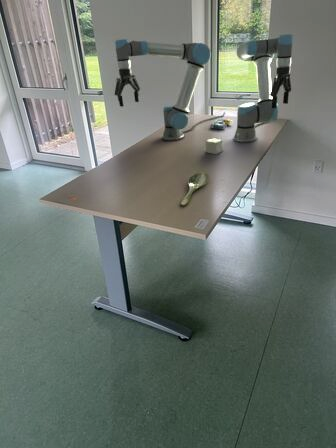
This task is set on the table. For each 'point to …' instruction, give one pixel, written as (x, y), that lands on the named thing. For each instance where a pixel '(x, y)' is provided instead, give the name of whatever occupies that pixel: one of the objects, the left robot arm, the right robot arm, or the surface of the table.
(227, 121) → the spray gun
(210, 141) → the block
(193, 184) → the spoon
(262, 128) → the table surface
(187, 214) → the table surface
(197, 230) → the table surface
